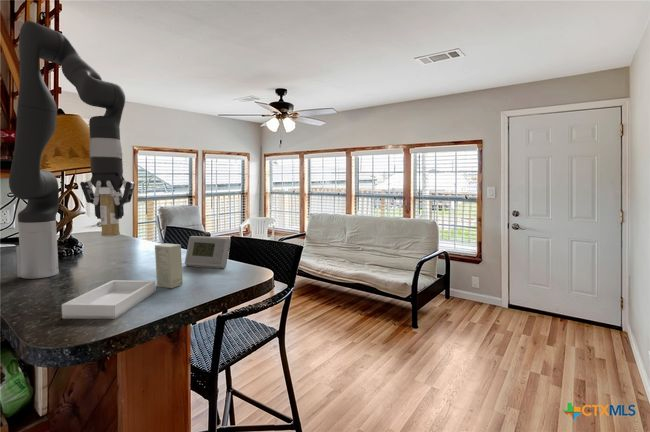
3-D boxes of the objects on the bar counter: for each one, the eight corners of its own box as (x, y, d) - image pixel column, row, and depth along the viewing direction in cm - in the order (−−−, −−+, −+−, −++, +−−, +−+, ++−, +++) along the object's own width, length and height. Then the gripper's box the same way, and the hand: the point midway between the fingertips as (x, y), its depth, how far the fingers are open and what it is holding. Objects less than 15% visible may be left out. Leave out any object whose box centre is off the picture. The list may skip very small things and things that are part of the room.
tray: (62, 318, 79) (61, 304, 78) (112, 291, 98) (112, 280, 98) (115, 318, 79) (114, 305, 79) (155, 291, 98) (155, 280, 98)
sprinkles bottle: (120, 235, 99) (118, 187, 98) (101, 237, 96) (98, 187, 95) (119, 233, 103) (116, 187, 101) (100, 235, 100) (97, 187, 99)
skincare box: (183, 285, 105) (182, 244, 104) (170, 289, 101) (169, 246, 100) (167, 282, 108) (166, 242, 107) (155, 286, 104) (154, 244, 103)
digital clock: (181, 266, 129) (181, 237, 128) (199, 261, 137) (199, 233, 136) (218, 271, 122) (218, 240, 121) (234, 265, 131) (234, 237, 130)
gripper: (70, 155, 93) (74, 220, 95) (125, 155, 94) (129, 219, 95) (88, 157, 101) (91, 217, 102) (139, 157, 101) (142, 217, 103)
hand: (109, 218), depth 99 cm, fingers closed on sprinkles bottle, 4 cm apart
